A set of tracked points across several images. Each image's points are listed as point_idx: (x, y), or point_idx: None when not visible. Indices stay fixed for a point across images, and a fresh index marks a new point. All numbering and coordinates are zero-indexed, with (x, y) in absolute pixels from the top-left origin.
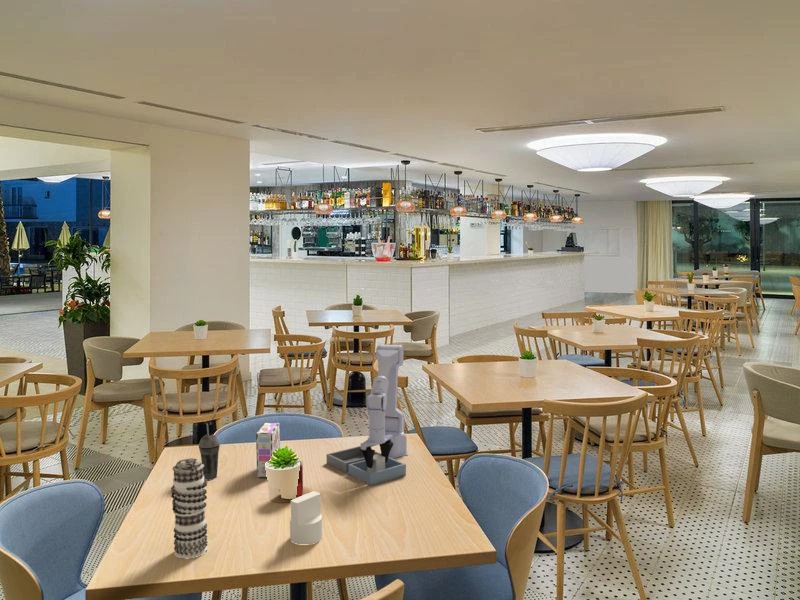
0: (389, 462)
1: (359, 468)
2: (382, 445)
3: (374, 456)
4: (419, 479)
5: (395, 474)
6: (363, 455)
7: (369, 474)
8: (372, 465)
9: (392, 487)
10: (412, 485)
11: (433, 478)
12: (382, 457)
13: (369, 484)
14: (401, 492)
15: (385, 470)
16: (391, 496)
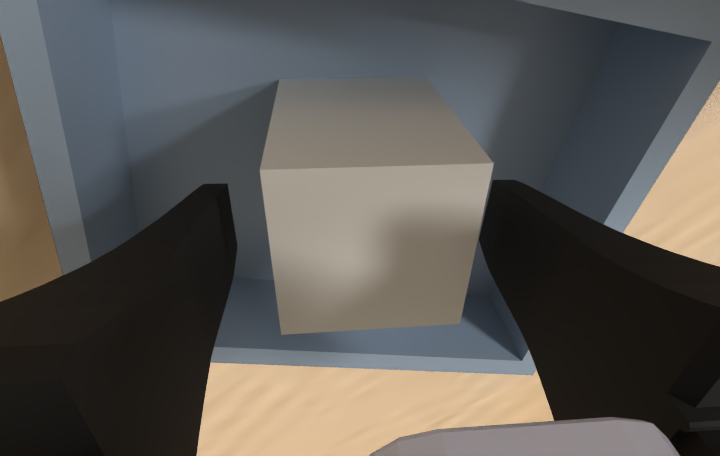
0: (599, 159)
1: (65, 161)
2: (630, 364)
3: (385, 221)
4: (472, 385)
5: None
6: (75, 275)
7: None
8: (231, 273)
9: (251, 374)
10: (365, 412)
11: (528, 412)
12: (422, 317)
13: None
14: (239, 434)
15: (293, 362)
16: None
